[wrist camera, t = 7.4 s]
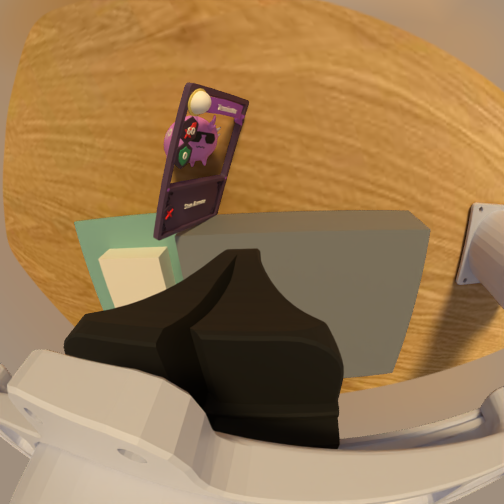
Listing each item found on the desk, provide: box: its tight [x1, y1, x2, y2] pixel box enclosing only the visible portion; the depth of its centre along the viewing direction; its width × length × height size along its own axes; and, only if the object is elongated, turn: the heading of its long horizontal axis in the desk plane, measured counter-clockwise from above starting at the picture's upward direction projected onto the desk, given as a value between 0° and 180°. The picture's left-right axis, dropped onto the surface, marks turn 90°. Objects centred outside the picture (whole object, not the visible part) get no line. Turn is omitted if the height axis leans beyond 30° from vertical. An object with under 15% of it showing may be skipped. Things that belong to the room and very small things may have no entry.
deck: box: [174, 210, 430, 378], centre depth 22 cm, size 17×14×4 cm
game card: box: [153, 83, 249, 241], centre depth 17 cm, size 7×5×9 cm
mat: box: [74, 213, 183, 310], centre depth 25 cm, size 11×15×1 cm
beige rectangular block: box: [98, 247, 176, 308], centre depth 24 cm, size 6×9×2 cm, turn 4°
